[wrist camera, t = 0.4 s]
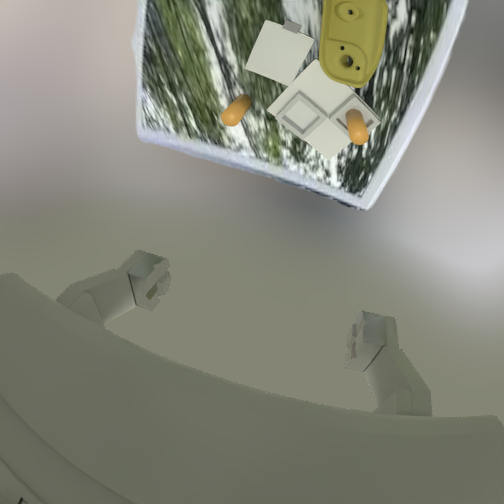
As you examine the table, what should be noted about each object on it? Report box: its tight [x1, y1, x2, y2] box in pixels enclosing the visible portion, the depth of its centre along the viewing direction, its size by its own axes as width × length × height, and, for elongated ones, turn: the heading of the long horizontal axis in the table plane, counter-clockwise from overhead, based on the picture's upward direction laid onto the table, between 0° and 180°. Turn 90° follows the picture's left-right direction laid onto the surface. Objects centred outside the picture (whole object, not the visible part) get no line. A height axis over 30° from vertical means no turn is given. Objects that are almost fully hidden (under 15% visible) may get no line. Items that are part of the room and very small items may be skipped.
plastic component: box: [319, 0, 388, 88], centre depth 35 cm, size 20×7×10 cm
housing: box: [267, 58, 381, 160], centre depth 47 cm, size 16×18×11 cm
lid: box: [245, 20, 315, 86], centre depth 42 cm, size 14×10×1 cm
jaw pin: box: [221, 94, 252, 126], centre depth 50 cm, size 4×4×10 cm
